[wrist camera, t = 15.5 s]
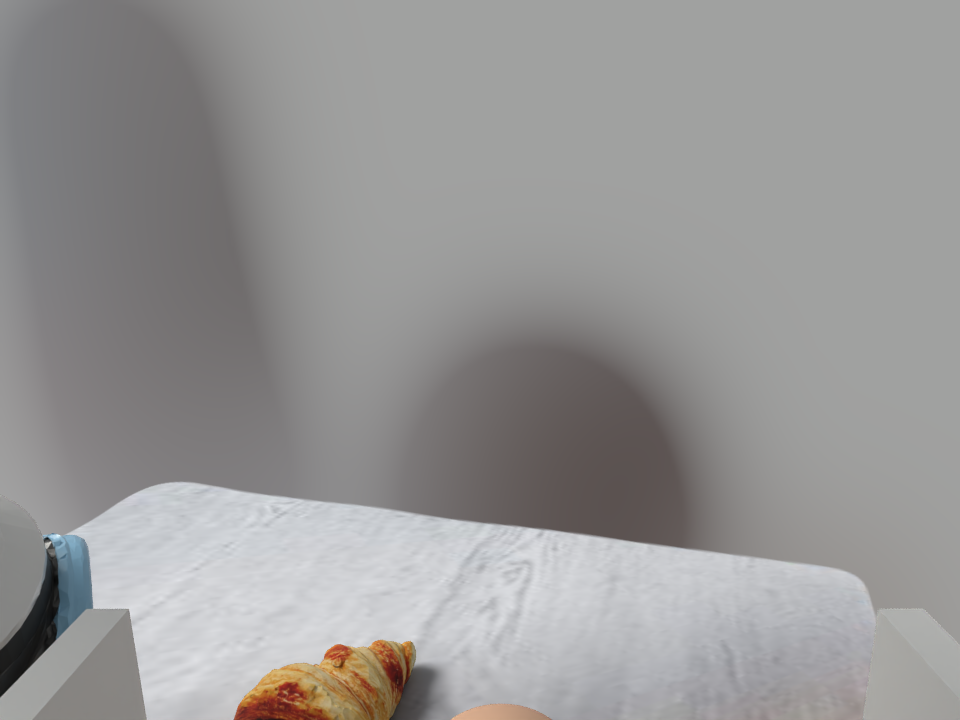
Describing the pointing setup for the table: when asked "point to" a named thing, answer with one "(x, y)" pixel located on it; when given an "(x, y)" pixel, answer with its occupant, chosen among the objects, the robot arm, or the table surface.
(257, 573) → the table surface
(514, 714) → the canister
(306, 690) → the croissant
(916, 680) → the robot arm
